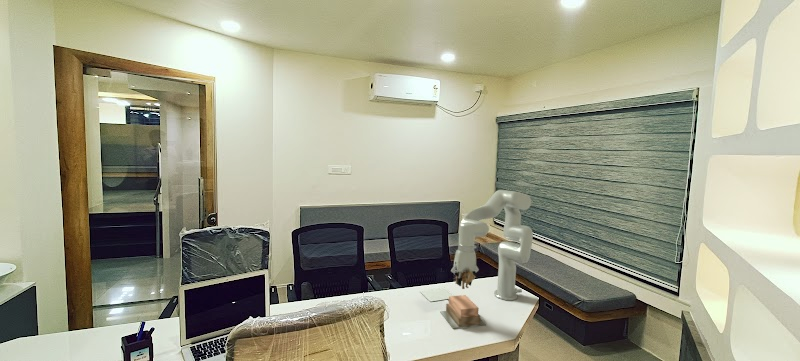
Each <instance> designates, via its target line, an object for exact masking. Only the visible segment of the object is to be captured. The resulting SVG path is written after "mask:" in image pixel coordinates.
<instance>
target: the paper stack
mask: <svg viewBox="0 0 800 361" xmlns="http://www.w3.org/2000/svg"><path fill="white" fill-rule="evenodd" d="M419 292H420V293H421V294H422V295H423V296H424V297H425V298H426V299H427V300H428V301H429V302H436V301H443V300H449V296H455V294H453V293H452V292H450V291H449V290H448V289H447V288H446V287H441V288H433V289H426V290H425V289H424V290H420V291H419Z"/></svg>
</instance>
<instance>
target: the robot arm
mask: <svg viewBox="0 0 800 361" xmlns="http://www.w3.org/2000/svg"><path fill="white" fill-rule="evenodd" d="M531 205H532V198H531V196H530V195H529V194H525V193H522V192H519V191H514V190H505V189H499V190H498V189H497V190H496V191H495V192H494V193H493V194H492V195H491V196H490V198H489V199H488V200H487V201H486V202H485V204H484V205H481V206H478V207H476V208H474V209H472V210H470V211H469V212H467V213H466V215H464V217H463V218H462V220H461V221H460V223H459V228H458V229H459V230H458V245H457V246H458V247H457V249H456V250H455V253H454V260H453V267H452V268H451V270H450V272H451V273H453V275H455V277H456V276H457V284H456V285H457V286H459V287H462V278H461V274H462V272H463V273H464V272H468V271H472V272H473V274H474V275H476V273H477V272H479V270H480V269H479V267H478V266H477V256H476V251H475V249H477V247H478V246H477V245H475V240H476V238H482V237H486V236H487V234H488V233H489V232H490V230H489V229H490V227H489V224H488V223H486V222H485V221H482V220H488V219H495V218H496V217H497V216H499V215H500V213H501V212H502V210H504V212H505V216H504V217H505V218H504V225H503V230H502V231H503V233H502V234H503V235H502V236H503V237H504V238H505V239H507V240H509V241H505V240H504V241H501V242H500V243H499V244H498V246H497V254H498V272H497V285H496V286H497V289H496V290H495V291H494V293H493V294H494V296H495V297H496V298H497V299H500V300H504V301H515V300H517V299H518V295H517V294H519V293H520V294H521V293H523V290H522V288H517V287H516V276H517V265H516V262H517V263H520V264H521V263H522V264H525V263H527V262H528V261H530V257H531V253H532V252H531V250H532V244H533V238H534V235H533V230H532V227H530V226H528V225H523V224H521V221H522V213H521V211H522V210H523V211H527V210H528V209H529V208H530V207H531ZM520 210H521V211H520ZM510 241H511V242H510ZM512 241H514V242H512ZM515 242H518V243H515ZM519 243H520V244H519ZM472 282H473V281H471V282H470V283H468V285H469V286H470V287H471V286H472Z"/></svg>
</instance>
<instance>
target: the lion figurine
mask: <svg viewBox="0 0 800 361" xmlns="http://www.w3.org/2000/svg"><path fill="white" fill-rule="evenodd" d="M461 278H462V283H461V289H462V290H465V288H466V289H469V286H468V285H469V284H468V283H470V282H471V281H472V282H473V280H475V278H476V274H473V272H472V271H468V272H462V274H461ZM452 279H453V280H455V285H458V284H457V276H456V275H455V277H454V278H452Z"/></svg>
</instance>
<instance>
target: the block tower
mask: <svg viewBox="0 0 800 361" xmlns="http://www.w3.org/2000/svg"><path fill="white" fill-rule="evenodd" d="M439 313H440V314H441V316H442V317H443V319H444V320H445V321H446V323H448V324H449V327H450V328H452V330H456V329H467V328H476V327H484V326H485V327H487V323H486V322H485V321H483V319H482V318H481V315H480V314H479V306H478V305H476V304H475V302H473V300H471V298H469V297H468V296H467V295H466V294H461V295H454V296H449V299H448V303H446V304H445V310H441V311H440V312H439Z"/></svg>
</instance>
